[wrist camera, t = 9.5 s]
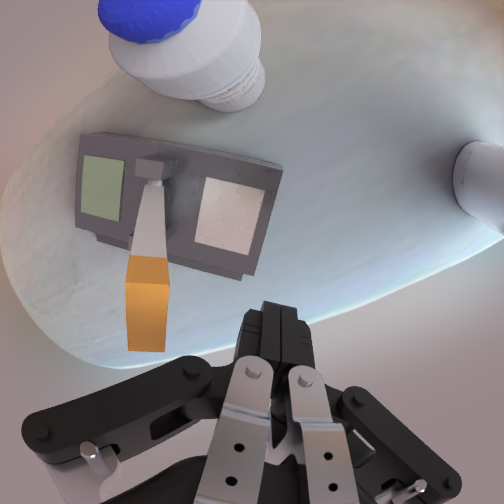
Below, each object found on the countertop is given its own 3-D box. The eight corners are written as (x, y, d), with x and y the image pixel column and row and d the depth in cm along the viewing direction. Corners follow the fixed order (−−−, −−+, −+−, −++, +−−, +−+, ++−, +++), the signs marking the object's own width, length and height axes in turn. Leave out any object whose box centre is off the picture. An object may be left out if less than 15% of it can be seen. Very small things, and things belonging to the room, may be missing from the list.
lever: (164, 178, 22) (170, 276, 9) (158, 225, 24) (164, 357, 11) (146, 176, 21) (125, 272, 9) (140, 224, 23) (128, 356, 11)
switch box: (281, 165, 25) (284, 176, 19) (256, 257, 29) (250, 294, 23) (102, 132, 25) (60, 137, 18) (94, 215, 29) (57, 237, 22)
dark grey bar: (246, 260, 30) (245, 264, 29) (241, 276, 30) (240, 280, 30) (101, 222, 29) (97, 224, 28) (100, 237, 30) (96, 240, 29)
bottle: (228, 130, 24) (109, 122, 6) (185, 84, 23) (29, 25, 4) (283, 87, 22) (301, -30, 4) (237, 41, 20) (164, -95, 2)
